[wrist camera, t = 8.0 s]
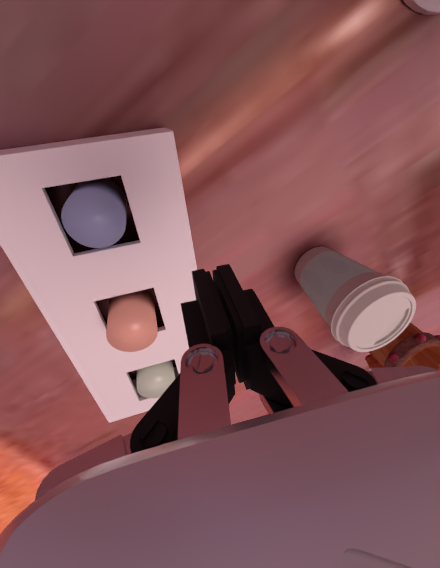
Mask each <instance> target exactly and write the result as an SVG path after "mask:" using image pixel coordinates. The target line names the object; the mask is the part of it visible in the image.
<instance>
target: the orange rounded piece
mask: <svg viewBox="0 0 440 568" xmlns="http://www.w3.org/2000/svg"><path fill="white" fill-rule="evenodd" d="M157 334H158V329H157V321H156V313H155V306H154V298H153V295H152V293H151V292H150V291H149V290H148V289H145V290H141V291H136V292H132V293H128V294H124V295H119V296H115V297H111V298H110V300H109V310H108V320H107V330H106V338H107V341H108V342H109V344H110V345H111V346H112V347H114V348H115V349H117V350H120V351H124V352H136V351H140V350H143V349H145V348H147V347H149V346H150V345H151V344H152V343H153V342H154V341H155V339H156V337H157Z"/></svg>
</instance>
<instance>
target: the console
mask: <svg viewBox="0 0 440 568" xmlns="http://www.w3.org/2000/svg"><path fill="white" fill-rule="evenodd" d="M120 175H121V177H122V181H123V184H124V187H125V191H126V194H127V198H128V201H129V205H130V208H131V211H132V215H133V218H134V222H135V225H136V229H137V232H138V236H139V239H140V240H137V241H133V242H128V243H123V244H118V245H113V246H108V247H104V248H98V249H93V250H89V251H84V252H79V253H74V252H73V250H72V248H71V245H70V243H69V241H68V239H67V237H66V234H65V232H64V230H63V228H62V225H61V223H60V221H59V219H58V217H57V214H56V212H55V210H54V208H53V206H52V203H51V201H50V199H49V197H48V195H47V192H46V190H45V188H46V187H52V186H58V185H65V184H71V183H77V182H83V181H89V180H95V179H102V178H108V177H114V176H120ZM0 245H1V247H2V248H3V250H4V252H5V253H6V255H7V257H8V258H9V260H10V261H11V263H12V265H13V266H14V268H15V270H16V271H17V273H18V275H19V276H20V278H21V279H22V281H23V283H24V284H25V286H26V288H27V289H28V291H29V293H30V294H31V296H32V297H33V299H34V301H35V302H36V304H37V306H38V307H39V309H40V311H41V312H42V314H43V315H44V317H45V319H46V320H47V322H48V324H49V325H50V327H51V329H52V330H53V332H54V333H55V335H56V337H57V338H58V340H59V342H60V343H61V345H62V347H63V348H64V350H65V351H66V353H67V355H68V356H69V358H70V360H71V361H72V363H73V365H74V366H75V368H76V370H77V371H78V373H79V374H80V376H81V378H82V379H83V381H84V383H85V384H86V386H87V388H88V389H89V391H90V392H91V394H92V396H93V397H94V399H95V401H96V402H97V404H98V406H99V407H100V409H101V410H102V412H103V414H104V415H105V417H106V419H107V420H108V422H109V423H110V422H113V421H116V420H120V419H123V418H126V417H129V416H132V415H136V414H139V413H142V412H145V411H149V410H150V409H151V407H152V406H153V405H154V404H155V403H156V401H157V400H158V399H159V398H160V397H159V398H146V397H143V396H141V395H140V394H139V393H138V392H137V379H134V380H131V378H130V376H129V374H128V372H131V371H134V370H138V369H141V368H145V367H149V366H152V365H156V364H159V363H163V362H166V361H170V360H173V359H175V363H176V366H177V367H175V368H174V374H175V379H176V377H177V376H178V375H179V374H180V368H181V359H182V356H183V354H184V353H185V352H186V351H187V350H188V349H189V346H188V340H187V335H186V330H185V325H184V319H183V314H182V309H181V303H184V302H189V301H194V300H196V297H195V290H194V284H193V278H192V271H195V270H197V266H196V260H195V254H194V249H193V243H192V237H191V231H190V225H189V220H188V214H187V208H186V202H185V197H184V191H183V185H182V179H181V173H180V168H179V162H178V156H177V150H176V145H175V139H174V133H173V131H172V130H170V129H168V128H166V127H163V128H156V129H149V130H142V131H134V132H127V133H120V134H112V135H105V136H98V137H91V138H83V139H76V140H69V141H61V142H54V143H47V144H39V145H32V146H25V147H18V148H10V149H3V150H0ZM153 287H154V291H155V294H156V298H157V301H158V304H159V308H160V311H161V315H162V318H163V322H164V325H165V326H163V327H159V328H157V329H158V334H157V337H156V339H155V341H154V342H153V343H152V344H151V345H150V346H149V347H147V348H145V349H143V350H140V351H136V352H124V351H120V350H117V349H115V348H114V347H112V346H111V345H110V344H109V342H108V341H107V338H106V330H107V325H106V323H105V321H104V318H103V316H102V314H101V312H100V310H99V307H98V305H97V303H96V301H98V300H103V299H107V298H111V297H115V296H119V295H124V294H128V293H132V292H136V291H141V290H145V289H149V288H153Z"/></svg>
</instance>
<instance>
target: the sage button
mask: <svg viewBox="0 0 440 568" xmlns="http://www.w3.org/2000/svg"><path fill="white" fill-rule="evenodd" d="M136 378H137V392H138V393H139V394H140V395H141V396H143V397H146V398H159V397H161V395H162V394H163V393H164V392H165V391H166V389H167V388H168V387H169V386H170V385H171V383H172V382H173V381H174V380H175V374H174V368H173V363H172V360H170V361H166V362H163V363H159V364H156V365H152V366H149V367H145V368H141V369H138V370H136Z"/></svg>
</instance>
